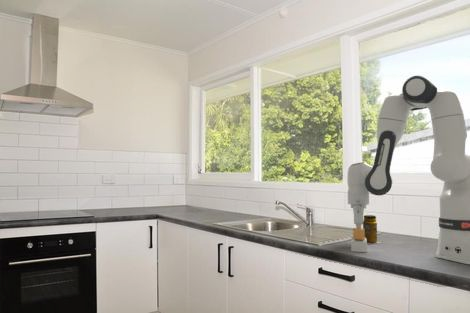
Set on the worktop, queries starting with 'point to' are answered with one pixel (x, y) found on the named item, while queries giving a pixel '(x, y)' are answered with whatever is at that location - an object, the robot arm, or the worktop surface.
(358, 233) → the orange wooden cube
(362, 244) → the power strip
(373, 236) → the condiment
